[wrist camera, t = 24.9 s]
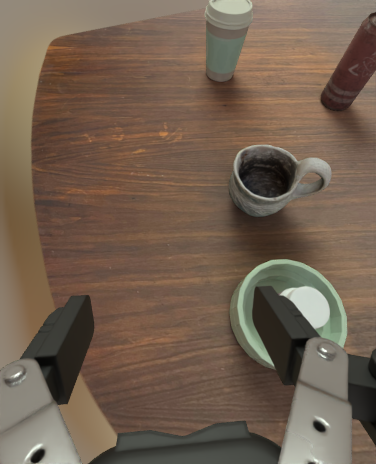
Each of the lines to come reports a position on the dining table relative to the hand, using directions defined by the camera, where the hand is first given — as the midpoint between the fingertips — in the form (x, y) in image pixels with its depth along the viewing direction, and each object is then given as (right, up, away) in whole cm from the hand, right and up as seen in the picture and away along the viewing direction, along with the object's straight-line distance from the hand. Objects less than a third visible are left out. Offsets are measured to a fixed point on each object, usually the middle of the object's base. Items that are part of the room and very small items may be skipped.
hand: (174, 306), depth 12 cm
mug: (+13, +9, +28) cm, 32 cm away
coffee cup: (+7, +38, +41) cm, 56 cm away
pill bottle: (+12, -7, +20) cm, 24 cm away
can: (+31, +31, +39) cm, 59 cm away
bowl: (+12, -7, +20) cm, 25 cm away
